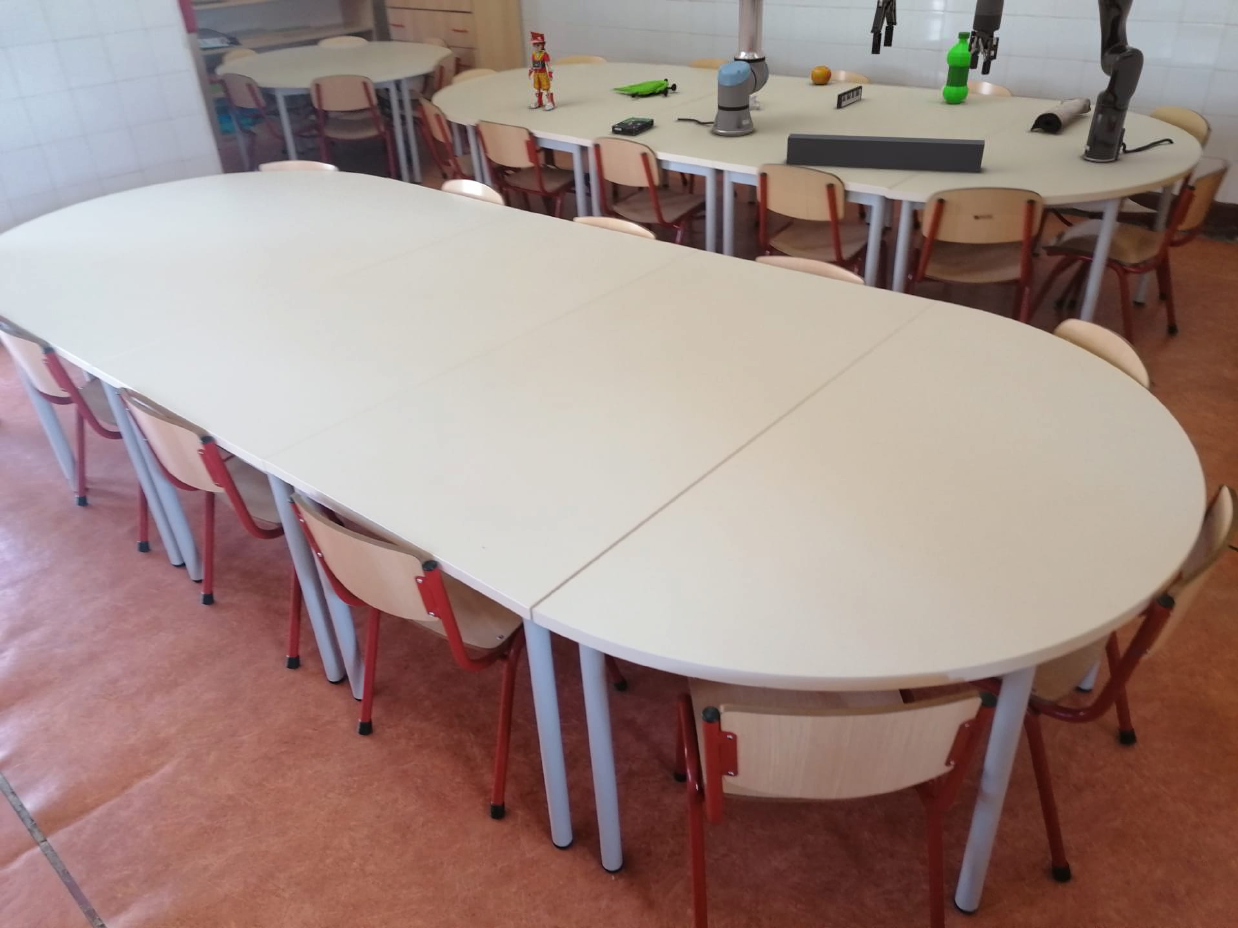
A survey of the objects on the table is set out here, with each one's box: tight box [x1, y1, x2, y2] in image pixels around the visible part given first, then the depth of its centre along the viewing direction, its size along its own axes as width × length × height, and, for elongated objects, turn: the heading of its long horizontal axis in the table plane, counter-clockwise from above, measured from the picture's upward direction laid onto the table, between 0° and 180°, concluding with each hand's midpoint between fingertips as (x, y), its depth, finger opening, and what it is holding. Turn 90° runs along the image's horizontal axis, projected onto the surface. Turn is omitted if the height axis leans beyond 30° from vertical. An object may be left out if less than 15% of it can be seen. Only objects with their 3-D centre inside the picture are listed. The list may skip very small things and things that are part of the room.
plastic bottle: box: [942, 31, 971, 104], centre depth 348 cm, size 10×10×25 cm
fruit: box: [810, 65, 832, 85], centre depth 390 cm, size 8×8×8 cm
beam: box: [786, 133, 986, 173], centre depth 291 cm, size 61×5×9 cm, turn 71°
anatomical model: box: [749, 94, 762, 110], centre depth 364 cm, size 15×10×10 cm
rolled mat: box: [1030, 97, 1092, 134], centre depth 321 cm, size 30×9×10 cm
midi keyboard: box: [836, 85, 863, 109], centre depth 360 cm, size 18×1×5 cm, turn 138°
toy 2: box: [612, 78, 677, 99], centre depth 396 cm, size 28×5×30 cm
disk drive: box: [611, 116, 655, 136], centre depth 345 cm, size 10×3×15 cm
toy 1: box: [527, 31, 556, 111], centre depth 374 cm, size 12×9×30 cm
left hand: (881, 50), depth 308 cm, fingers open, 13 cm apart
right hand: (978, 71), depth 269 cm, fingers open, 8 cm apart
